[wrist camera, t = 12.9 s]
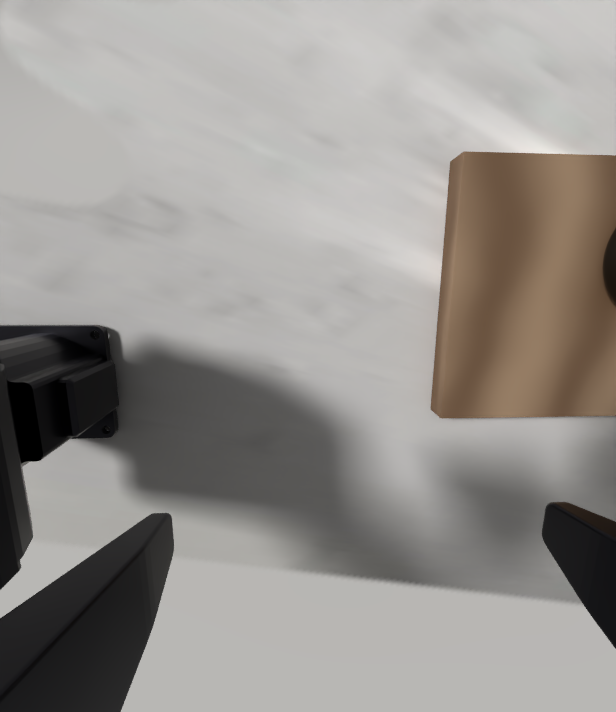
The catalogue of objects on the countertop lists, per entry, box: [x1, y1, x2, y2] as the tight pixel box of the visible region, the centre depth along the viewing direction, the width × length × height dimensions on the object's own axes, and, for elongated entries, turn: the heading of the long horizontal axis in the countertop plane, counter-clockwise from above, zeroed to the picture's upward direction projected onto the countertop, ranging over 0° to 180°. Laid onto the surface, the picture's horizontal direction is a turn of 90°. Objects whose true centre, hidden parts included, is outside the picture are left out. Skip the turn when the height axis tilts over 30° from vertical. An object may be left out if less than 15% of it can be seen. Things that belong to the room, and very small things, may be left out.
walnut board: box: [431, 152, 616, 418], centre depth 20 cm, size 16×14×2 cm
